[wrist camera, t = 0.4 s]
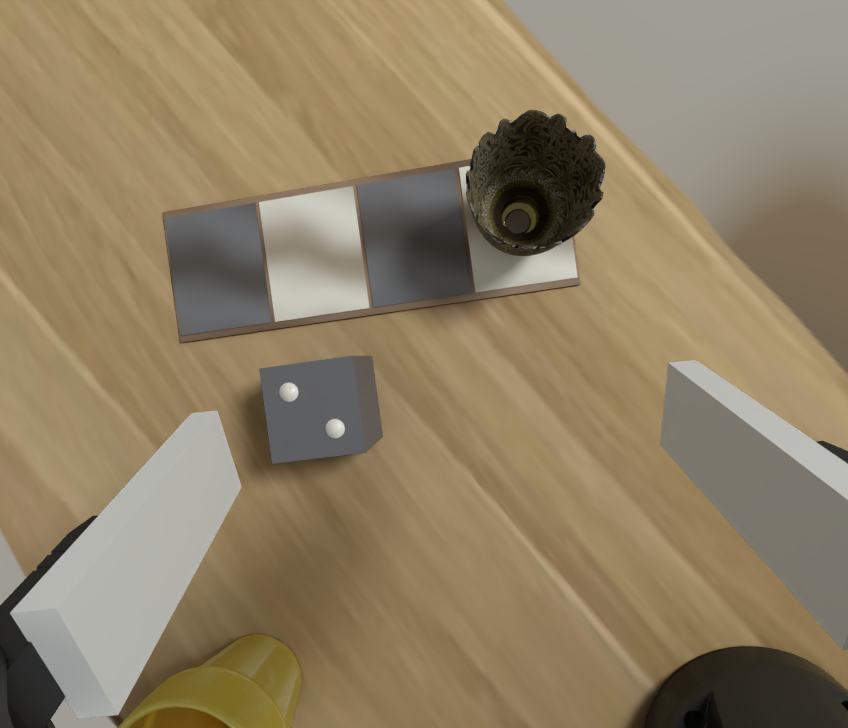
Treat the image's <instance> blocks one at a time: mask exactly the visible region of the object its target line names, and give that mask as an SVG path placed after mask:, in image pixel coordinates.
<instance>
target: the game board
mask: <svg viewBox="0 0 848 728" xmlns="http://www.w3.org/2000/svg"><path fill="white" fill-rule="evenodd" d="M470 162H471V159H469V160H464V161H458V162H452V163H446V164H441V165H435V166H429V167H423V168H417V169H412V170H406V171H400V172H394V173H388V174H383V175H377V176H371V177H365V178H359V179H354V180H348V181H342V182H336V183H331V184H325V185H319V186H313V187H307V188H302V189H296V190H290V191H284V192H278V193H273V194H267V195H261V196H255V197H249V198H244V199H238V200H232V201H226V202H221V203H215V204H209V205H203V206H197V207H192V208H186V209H180V210H174V211H168V212H163V219H164V227H165V234H166V241H167V249H168V256H169V263H170V271H171V278H172V285H173V293H174V300H175V307H176V315H177V322H178V329H179V337H180V343H183V342H190V341H197V340H204V339H211V338H217V337H224V336H231V335H238V334H245V333H252V332H259V331H266V330H272V329H279V328H286V327H293V326H300V325H307V324H314V323H321V322H327V321H334V320H341V319H348V318H355V317H362V316H369V315H376V314H382V313H389V312H396V311H403V310H410V309H417V308H424V307H431V306H437V305H444V304H451V303H458V302H465V301H472V300H479V299H486V298H492V297H499V296H506V295H513V294H520V293H527V292H534V291H541V290H547V289H554V288H561V287H568V286H575V285H580V278H579V270H578V263H577V255H576V248H575V240H574V236H573V237H572V238H570V239H569V240H567V241H565V242H563V243H562V244H560V245H558V246H556V247H554V248H552V249H550V250H548V251H546V252H543V253H540V254H537V255H531V256H515V255H510V254H507V253H504V252H502V251H500V250H498V249H496V248H495V247H493V246H492V245H491V244H490V243H489V242H488V241H487V240H486V239H485V238H484V237H483V236H482V234H481V233H480V231H479V229H478V227H477V225H476V223H475V221H474V218H473V215H472V212H471V209H470V207H469V204H468V201H467V197H466V190H467V185H466V172H467V170H470ZM529 223H530V219H529V216H528V215H527V214H526V213H525V212H524V211H521V210H516V211H513V212H511V213H510V214H509V215H508V217H507V220H506V224H507V227H508V229H509V230H510V231H511V232H513V233H522V232H524V231H525V230H526V229H527V228H528V227H529Z"/></svg>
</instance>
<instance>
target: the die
mask: <svg viewBox="0 0 848 728" xmlns="http://www.w3.org/2000/svg"><path fill="white" fill-rule="evenodd" d="M259 370H260V378H261V385H262V392H263V400H264V407H265V415H266V422H267V429H268V437H269V444H270V451H271V459H272V464H275V463H283V462H291V461H300V460H308V459H317V458H325V457H334V456H342V455H350V454H359V453H366V452H367V451H368V450H369V449H370V448H371V447H372V446H373V445H374V444H375V443H376V442H377V441H378V440H380V439H381V438H382V437H383V434H382V426H381V419H380V412H379V404H378V397H377V389H376V382H375V375H374V367H373V360H372V356H348V357H341V358H333V359H326V360H319V361H312V362H304V363H297V364H290V365H283V366H275V367H268V368H261V369H259Z"/></svg>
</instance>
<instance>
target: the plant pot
mask: <svg viewBox="0 0 848 728" xmlns="http://www.w3.org/2000/svg"><path fill="white" fill-rule="evenodd" d="M301 681H302V680H301V671H300V667H299V664H298V662H297V660H296V657H295V656H294V654H293V653H292V652H291V650H290V649H289V648H288V647H287V646H286V645H285V644H283V643H282V642H281V641H279V640H277V639H275V638H273V637H270V636H267V635H261V634H253V635H248V636H244V637H242V638H239V639H237V640H236V641H234V642H233V643H231V644H230V645H229V646H227V647H226V648H225V649H223V650H222V651H220V652H219V653H217V654H216V655H215V656H213V657H212V658H210V659H209V660H208V661H206V662H205V663H203V664H202V665H200V666H199V667H195V668H190V669H187V670H184V671H181V672H179V673H177V674H175V675H173V676H171V677H170V678H168V679H167V680H165V681H164V682H163V683H161V684H160V685H159V686H158V687H157V688H156V689H155V690H154V691H152V692H151V693H150V694H149V695H148V696H147V697H146V698H145V699H144V700H143V701H142V702H141V703H140V704H139V705H138V706H137V707H136V708H135V709H134V710H133V711H132V712H131V713H130V714H129V716H128V717H127V718H126V719H125V720H124V721H123V722H122V723H121V724H120V726H119V727H118V728H292V724H293V720H294V715H295V711H296V707H297V703H298V699H299V695H300V691H301Z"/></svg>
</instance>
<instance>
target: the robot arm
mask: <svg viewBox="0 0 848 728" xmlns="http://www.w3.org/2000/svg"><path fill="white" fill-rule="evenodd" d="M660 445H661V446H662V448H663V449H664V450H665V451H666V452H667V453H668V454H669V455H670V457H671V458H672V459H673V460H674V461H675V462H676V463H677V464H678V466H679V467H680V468H681V469H682V470H683V471H684V472H685V473H686V475H687V476H688V477H689V478H690V479H691V480H692V481H693V482H694V484H695V485H696V486H697V487H698V488H699V489H700V490H701V491H702V493H703V494H704V495H705V496H706V497H707V498H708V499H709V500H710V502H711V503H712V504H713V505H714V506H715V507H716V508H717V509H718V511H719V512H720V513H721V514H722V515H723V516H724V517H725V518H726V520H727V521H728V522H729V523H730V524H731V525H732V526H733V527H734V529H735V530H736V531H737V532H738V533H739V534H740V535H741V536H742V538H743V539H744V540H745V541H746V542H747V543H748V544H749V545H750V547H751V548H752V549H753V550H754V551H755V552H756V553H757V554H758V556H759V557H760V558H761V559H762V560H763V561H764V562H765V563H766V565H767V566H768V567H769V568H770V569H771V570H772V571H773V572H774V574H775V575H776V576H777V577H778V578H779V579H780V580H781V581H782V583H783V584H784V585H785V586H786V587H787V588H788V589H789V590H790V591H791V593H792V594H793V595H794V596H795V597H796V598H797V599H798V600H799V602H800V603H801V604H802V605H803V606H804V607H805V608H806V609H807V611H808V612H809V613H810V614H811V615H812V616H813V617H814V618H815V620H816V621H817V622H818V623H819V624H820V625H821V626H822V627H823V629H824V630H825V631H826V632H827V633H828V634H829V635H830V636H831V638H832V639H833V640H834V641H835V642H836V643H837V644H838V645H839V647H840V648H841V649H842V650H845V649H848V451H846V450H844V449H841V448H839V447H836V446H834V445H832V444H829V443H827V442H824V441H818V442H815V441H814V440H812V439H811V438H809V437H808V436H806V435H805V434H803V433H802V432H800V431H799V430H798V429H796V428H795V427H793V426H792V425H790V424H789V423H787V422H786V421H784V420H783V419H781V418H780V417H778V416H777V415H775V414H774V413H773V412H771V411H770V410H768V409H767V408H765V407H764V406H762V405H761V404H759V403H758V402H756V401H755V400H753V399H752V398H751V397H749V396H748V395H746V394H745V393H743V392H742V391H740V390H739V389H737V388H736V387H734V386H733V385H731V384H730V383H729V382H727V381H726V380H724V379H723V378H721V377H720V376H718V375H717V374H715V373H714V372H712V371H711V370H709V369H708V368H706V367H705V366H704V365H702V364H701V363H699V362H698V361H696V360H691V361H682V362H672V363H669V364H668V373H667V382H666V392H665V401H664V411H663V420H662V430H661V439H660ZM240 489H241V484H240V481H239V477H238V474H237V471H236V468H235V465H234V462H233V459H232V456H231V452H230V449H229V446H228V443H227V440H226V437H225V434H224V430H223V427H222V424H221V421H220V418H219V415H218V412H217V411H208V412H198V413H191V414H190V415H189V416H188V418H187V419H186V420H185V421H184V422H183V423H182V424H181V425H180V426H179V427H178V429H177V430H176V431H175V432H174V433H173V434H172V435H171V436H170V437H169V438H168V440H167V441H166V442H165V443H164V444H163V445H162V446H161V447H160V448H159V449H158V451H157V452H156V453H155V454H154V455H153V456H152V457H151V458H150V459H149V460H148V462H147V463H146V464H145V465H144V466H143V467H142V468H141V469H140V470H139V471H138V473H137V474H136V475H135V476H134V477H133V478H132V479H131V480H130V481H129V482H128V484H127V485H126V486H125V487H124V488H123V489H122V490H121V491H120V492H119V493H118V495H117V496H116V497H115V498H114V499H113V500H112V501H111V502H110V503H109V504H108V506H107V507H106V508H105V509H104V510H103V511H102V512H101V513H100V514H99V515H98V516H92V517H91V518H89V519H88V520H87V521H85V522H84V523H82V524H81V525H80V526H78V527H77V528H75V529H74V530H72V531H71V532H70V533H69V534H68V535H67V536H66V537H65V538H64V539H63V540H62V541H61V542H60V543H59V544H58V545H57V546H56V547H55V548H54V549H53V550H52V551H51V552H52V554H51V555H48V556H47V557H46V558H45V559H44V560H43V561H42V562H41V563H40V564H39V565H38V566H37V570H36V571H33V572H32V573H31V574H30V575H29V576H28V577H27V578H26V579H25V580H24V581H23V582H22V583H21V584H20V585H19V586H18V587H17V589H16V590H15V591H14V592H13V593H12V594H11V595H10V596H9V597H8V598H7V599H6V600H5V601H4V602H3V603H2V604H1V605H0V728H55V726H54V724H53V723H52V721H51V720H50V719H51V718H52V716H53V715H54V713H55V712H56V710H57V709H58V707H59V706H60V704H61V703H62V701H63V700H64V699H65V700H66V702H67V703H68V705H69V706H70V708H71V709H72V711H73V713H74V714H75V716H76V717H77V719H81V718H92V717H103V716H115V715H118V714H119V713H120V711H121V709H122V707H123V705H124V703H125V702H126V700H127V698H128V696H129V694H130V692H131V690H132V689H133V687H134V685H135V683H136V681H137V679H138V678H139V676H140V674H141V672H142V670H143V668H144V666H145V665H146V663H147V661H148V659H149V657H150V655H151V654H152V652H153V650H154V648H155V646H156V644H157V642H158V641H159V639H160V637H161V635H162V633H163V631H164V629H165V628H166V626H167V624H168V622H169V620H170V618H171V617H172V615H173V613H174V611H175V609H176V607H177V605H178V604H179V602H180V600H181V598H182V596H183V594H184V593H185V591H186V589H187V587H188V585H189V583H190V581H191V580H192V578H193V576H194V574H195V572H196V570H197V569H198V567H199V565H200V563H201V561H202V559H203V557H204V556H205V554H206V552H207V550H208V548H209V546H210V545H211V543H212V541H213V539H214V537H215V535H216V533H217V532H218V530H219V528H220V526H221V524H222V522H223V520H224V519H225V517H226V515H227V513H228V511H229V509H230V508H231V506H232V504H233V502H234V500H235V498H236V496H237V495H238V493H239V491H240ZM644 728H848V690H847V689H845V688H844V687H843V686H842V685H841V684H840V683H839V682H837V681H836V680H835V679H834V678H833V677H832V676H831V675H829V674H828V673H827V672H825V671H824V670H823V669H821V668H820V667H818V666H817V665H815V664H813V663H811V662H809V661H808V660H805V659H803V658H801V657H799V656H796V655H794V654H791V653H788V652H785V651H781V650H777V649H771V648H764V647H736V648H730V649H724V650H720V651H716V652H713V653H710V654H708V655H705V656H703V657H701V658H699V659H697V660H695V661H693V662H691V663H690V664H688V665H686V666H685V667H684V668H682V669H681V670H680V671H679V672H677V673H676V674H675V675H674V676H673V677H672V678H671V679H670V680H669V681H668V682H667V683H666V684H665V686H664V687H663V688H662V689H661V691H660V692H659V694H658V695H657V697H656V699H655V700H654V702H653V704H652V706H651V708H650V711H649V713H648V716H647V719H646V723H645V727H644Z"/></svg>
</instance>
